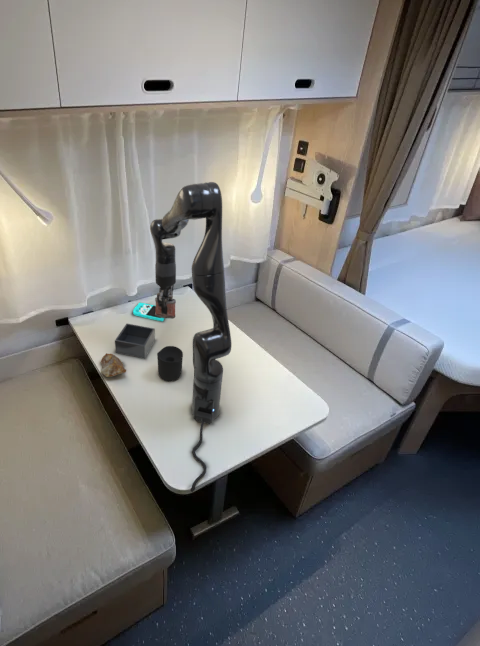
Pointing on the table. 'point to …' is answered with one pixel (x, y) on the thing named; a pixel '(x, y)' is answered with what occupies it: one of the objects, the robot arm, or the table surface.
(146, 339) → the grey square tray
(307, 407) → the table surface
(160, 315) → the lighter
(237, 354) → the table surface
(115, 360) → the decorative stone
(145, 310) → the handheld game console
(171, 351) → the pen holder
